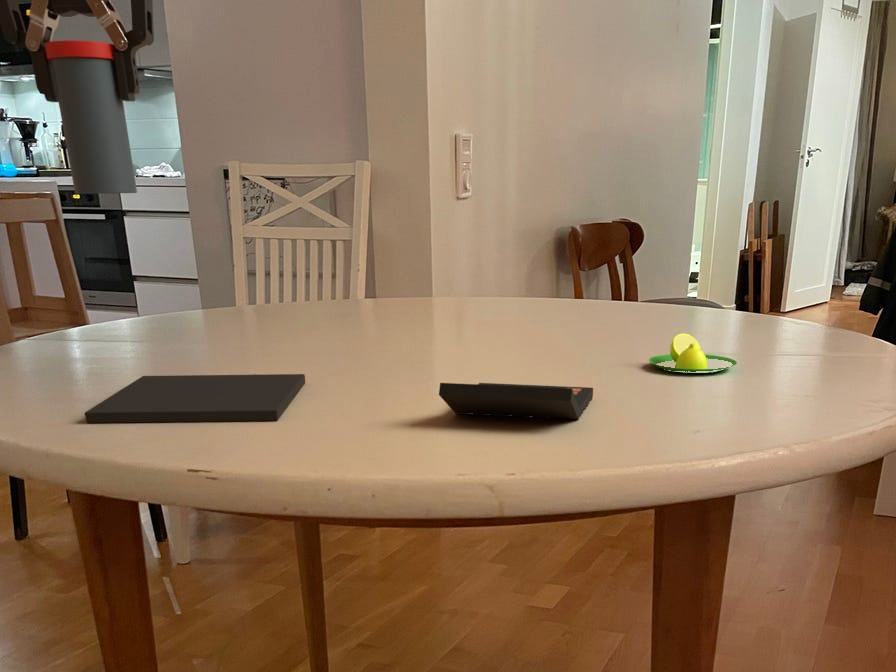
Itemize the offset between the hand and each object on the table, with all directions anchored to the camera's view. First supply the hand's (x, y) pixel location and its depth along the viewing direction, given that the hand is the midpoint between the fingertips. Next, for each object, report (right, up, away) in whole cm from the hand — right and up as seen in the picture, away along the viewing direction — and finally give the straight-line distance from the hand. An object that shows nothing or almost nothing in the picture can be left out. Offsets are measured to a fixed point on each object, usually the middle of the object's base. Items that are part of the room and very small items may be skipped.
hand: (90, 100), depth 85 cm
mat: (+14, -31, -11) cm, 35 cm away
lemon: (+56, -25, +1) cm, 61 cm away
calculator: (+39, -33, -15) cm, 53 cm away
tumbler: (0, -7, +3) cm, 8 cm away
